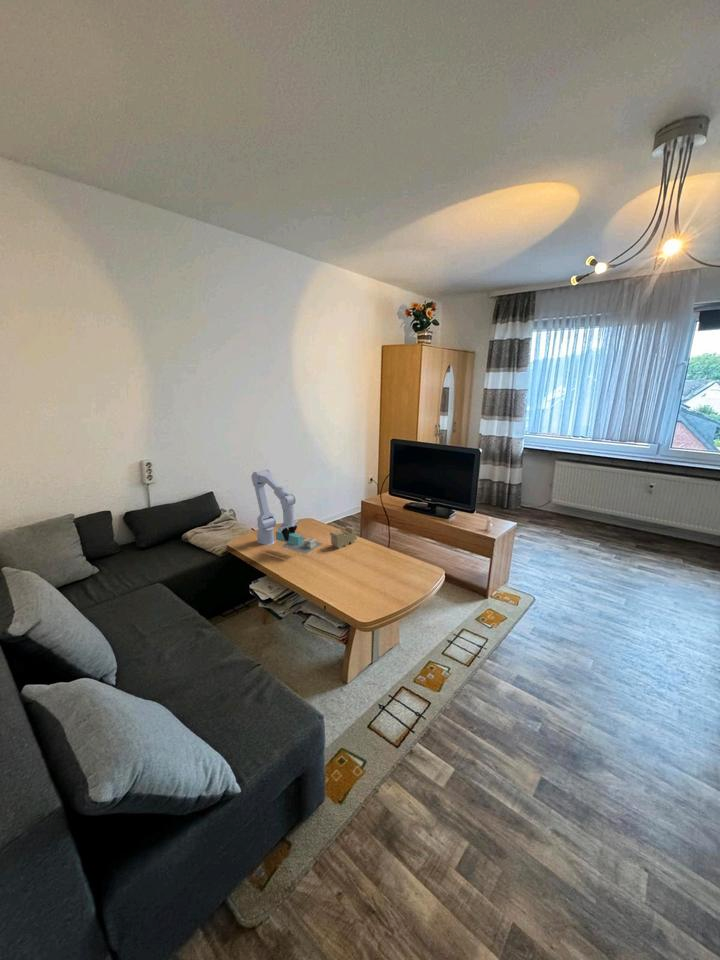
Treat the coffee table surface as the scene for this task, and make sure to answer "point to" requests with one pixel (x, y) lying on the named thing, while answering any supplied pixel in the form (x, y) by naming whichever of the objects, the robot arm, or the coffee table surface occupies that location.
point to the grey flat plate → (301, 547)
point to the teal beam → (290, 538)
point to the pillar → (310, 543)
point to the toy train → (343, 537)
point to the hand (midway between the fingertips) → (289, 539)
